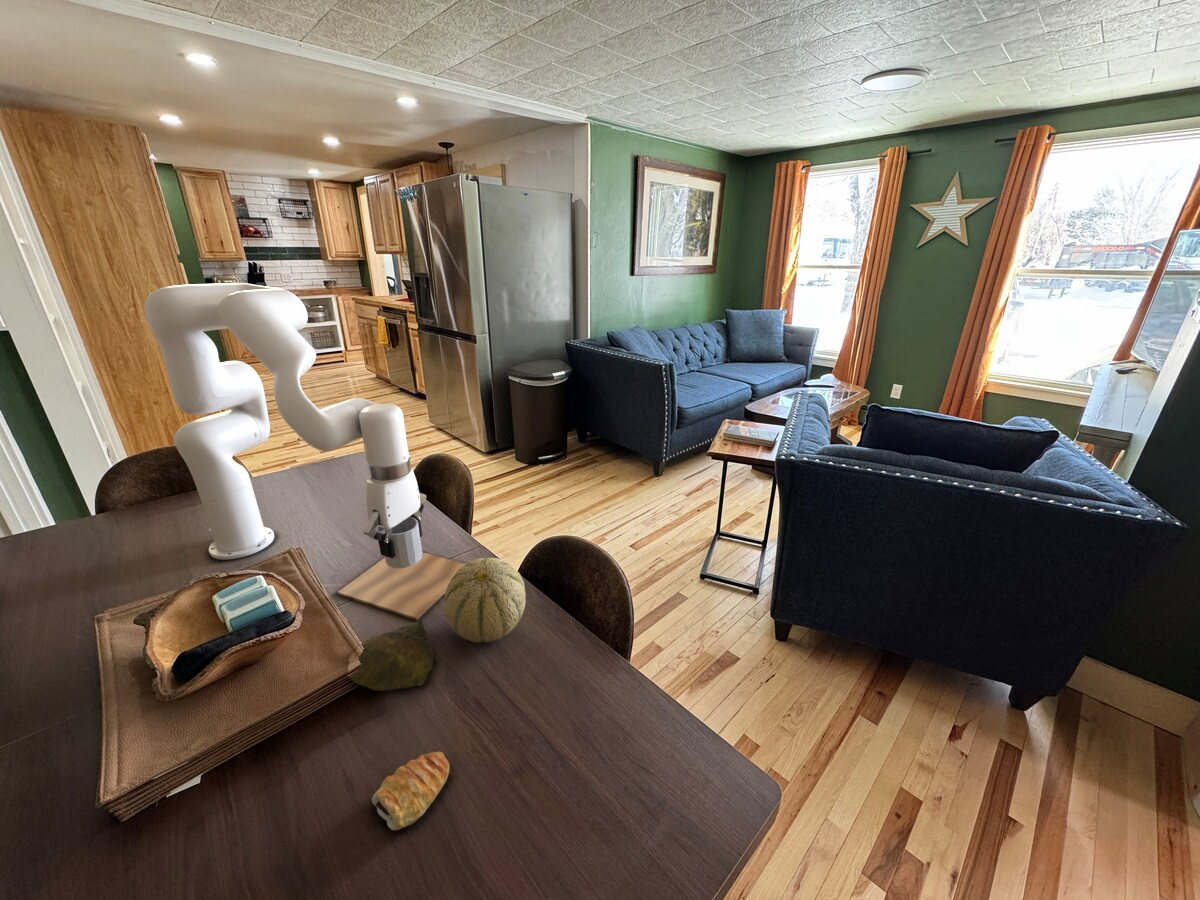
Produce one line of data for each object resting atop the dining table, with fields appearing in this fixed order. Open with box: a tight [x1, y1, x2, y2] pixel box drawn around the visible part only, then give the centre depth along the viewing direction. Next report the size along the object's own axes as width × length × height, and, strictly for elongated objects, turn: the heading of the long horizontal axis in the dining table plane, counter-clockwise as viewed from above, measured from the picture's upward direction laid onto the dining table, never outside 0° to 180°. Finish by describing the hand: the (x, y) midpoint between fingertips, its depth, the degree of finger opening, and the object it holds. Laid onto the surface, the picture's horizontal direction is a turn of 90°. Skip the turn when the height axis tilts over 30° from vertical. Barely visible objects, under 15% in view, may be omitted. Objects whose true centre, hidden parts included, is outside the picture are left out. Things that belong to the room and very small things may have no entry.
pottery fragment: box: [350, 619, 435, 692], centre depth 80 cm, size 13×14×4 cm
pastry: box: [371, 751, 451, 831], centre depth 61 cm, size 9×7×4 cm
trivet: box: [337, 551, 466, 621], centre depth 101 cm, size 20×18×1 cm
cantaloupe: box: [443, 557, 527, 643], centre depth 86 cm, size 15×15×15 cm
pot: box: [382, 517, 423, 568], centre depth 98 cm, size 7×7×8 cm
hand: (402, 544), depth 98 cm, fingers closed on pot, 7 cm apart
